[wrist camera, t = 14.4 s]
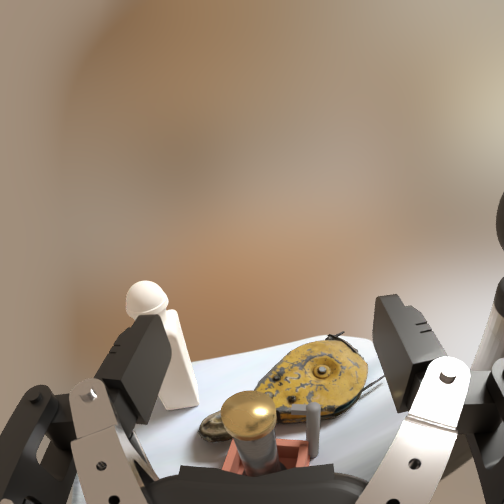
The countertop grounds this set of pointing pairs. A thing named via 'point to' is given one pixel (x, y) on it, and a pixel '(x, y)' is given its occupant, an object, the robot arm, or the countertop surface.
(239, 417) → the tie-down post
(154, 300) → the white square bottle
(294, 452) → the keeper bracket
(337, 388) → the pulley block
